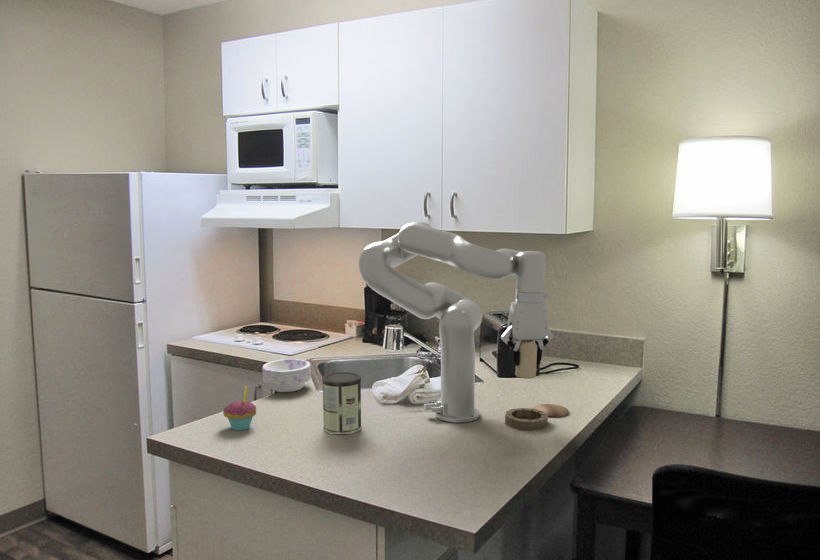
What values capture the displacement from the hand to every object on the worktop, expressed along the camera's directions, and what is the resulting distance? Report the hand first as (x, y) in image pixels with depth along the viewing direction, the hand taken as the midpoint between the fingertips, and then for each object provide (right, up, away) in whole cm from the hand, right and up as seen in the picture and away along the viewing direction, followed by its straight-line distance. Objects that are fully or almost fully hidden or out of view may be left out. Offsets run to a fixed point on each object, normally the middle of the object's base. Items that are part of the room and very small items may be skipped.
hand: (526, 363), depth 182 cm
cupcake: (-77, -17, -2) cm, 79 cm away
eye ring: (0, -17, +2) cm, 17 cm away
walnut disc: (+9, -15, +12) cm, 21 cm away
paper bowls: (-71, -13, +34) cm, 79 cm away
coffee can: (-49, -17, -2) cm, 52 cm away
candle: (0, -4, +1) cm, 4 cm away
